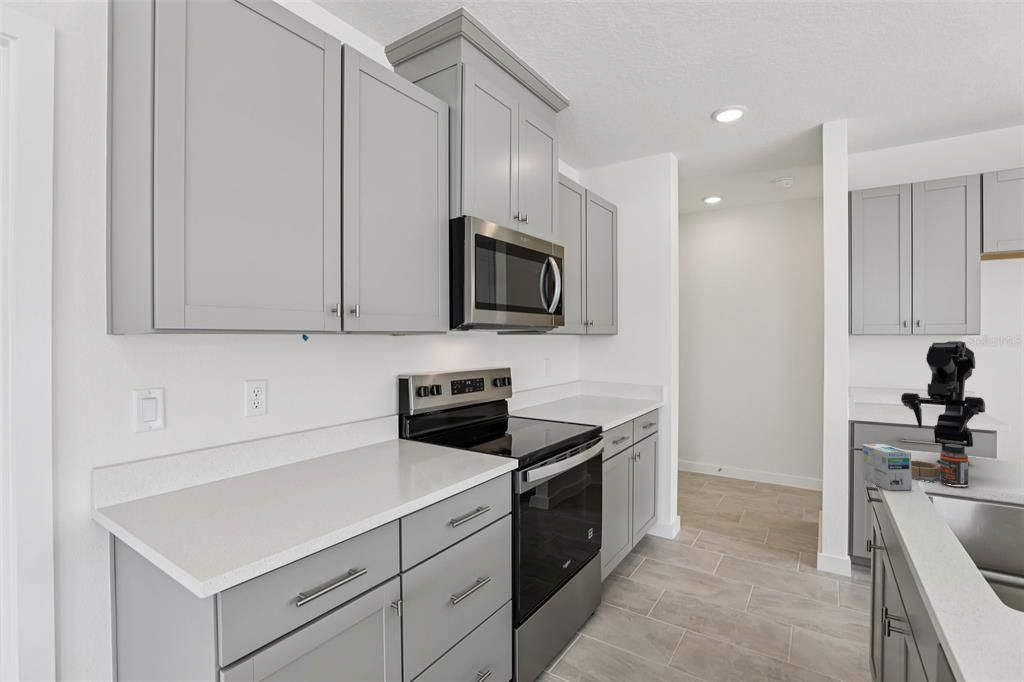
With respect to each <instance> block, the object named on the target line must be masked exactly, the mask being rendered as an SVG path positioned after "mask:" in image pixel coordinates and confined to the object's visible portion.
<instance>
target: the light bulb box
mask: <svg viewBox="0 0 1024 682" xmlns="http://www.w3.org/2000/svg"><path fill="white" fill-rule="evenodd" d="M911 461H912V452H911V451H908V450H904V449H902V448H899V447H894V446H891V445H889V444H888V445H887V444H885V443H871V444H870V443H862V464H863V467H862V470H863V474H862V475H863V481H866V482H868V483H871V484H872V485H876V486H878V487H880V488H882V489H884V490H887V491H911V490H910V489H912V490H913V482H912V481H913V479H912V472H911Z"/></svg>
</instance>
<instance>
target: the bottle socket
mask: <svg viewBox="0 0 1024 682" xmlns="http://www.w3.org/2000/svg"><path fill="white" fill-rule="evenodd" d="M911 472H912V478H915V479H918V480H917V481H920V480H924V481H923V482H925V481H929V482H928V483H930V482H933V483H935V482H934V481H936V482H939V481H941V480H940V465H939V464H936V463H932V462H928V461H921V460H920V461H919V460H911ZM915 479H914V480H915ZM938 480H939V481H938Z"/></svg>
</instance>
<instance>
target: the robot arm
mask: <svg viewBox="0 0 1024 682" xmlns="http://www.w3.org/2000/svg"><path fill="white" fill-rule="evenodd" d="M925 360H926V363H927V365H928V366H929V369H930V370H931V381H930V383H927V391H926V392H927V396H928V397H920V395H919V393H913V392H911V393H910V392H904V393H902V394H901V396H900V397H901V398H900V399H901V403H902V405H903V406H904V407H907V408H908V409H909V410H912V411H913V413H914V415H915V419H916V422H917V425H918V427H919V429H921V428H922V426H923V425H922V424H923V420H922V419H923V417H922V416H923V415H922V412H923V411H922V407H921V406H922V405H932V406H933V405H936V406H945V409H944V413H942V414H941V413H940V414H939V415H938V417H937V422H936V424H935V425H934V428H933V432H934V433H933V434H934V444H938V445H939V444H940V445H941V451H940V453H941V452H943V451H945V444H957V445H962V446H963V450H964V451H963V452H964V453H965V452H966V449H965V448H970V447H974V439H973V432H971V429H970V428H969V427H968V423H969V422H970V421H971V419H972V418H973V417H974V416H975V415H976V416H979V413H986V402H985V400H984V399H983V398H982V397H978V396H977V397H976V396H964V395H965V385H966V381H967V380H968V379H969V378H971V377H972V376H973V371H974V370H975V369H976V357H975V353H974V351H973V350H971V349H969V347H967V343H966V342H965V341H961V340H960V341H959V340H958V341H956V340H954V341H953V340H952V341H951V340H950V341H946V342H933V343H932V344H931V345H930V346H929V347H928V351H927V353H926V359H925ZM965 454H966V453H965ZM936 462H937V463H940V459H938V460H936ZM969 464H971V462H970V461H968V465H969Z"/></svg>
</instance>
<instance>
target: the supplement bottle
mask: <svg viewBox="0 0 1024 682" xmlns="http://www.w3.org/2000/svg"><path fill="white" fill-rule="evenodd" d="M963 451H964V450H963V446H962V445H957V444H945V451H943V452H941V451H940V453H939V456H940V457H939V458H940V459H939V460H940V462H939V463H940V465H939V466H940V480H939V481H940V484H942V483H945V484H951V485H968V486H969V464H968V462H969V456H968V454H966V453H964V452H963Z"/></svg>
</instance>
